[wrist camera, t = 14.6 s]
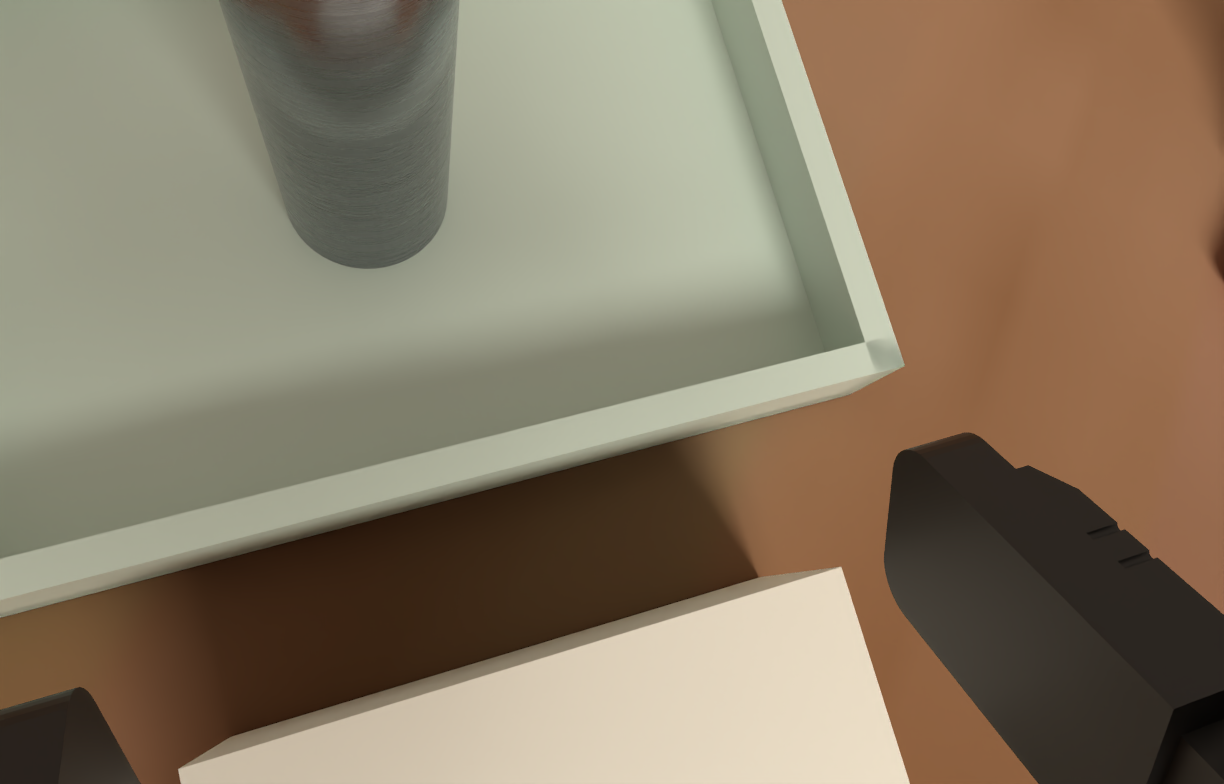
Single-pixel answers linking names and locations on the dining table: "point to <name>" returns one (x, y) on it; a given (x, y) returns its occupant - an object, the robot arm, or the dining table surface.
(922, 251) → the dining table surface
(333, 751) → the socket block
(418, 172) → the metal pin
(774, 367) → the tray
